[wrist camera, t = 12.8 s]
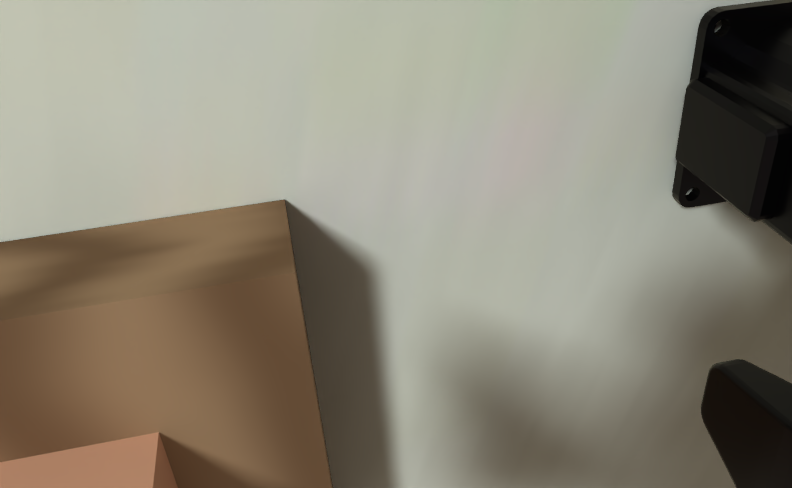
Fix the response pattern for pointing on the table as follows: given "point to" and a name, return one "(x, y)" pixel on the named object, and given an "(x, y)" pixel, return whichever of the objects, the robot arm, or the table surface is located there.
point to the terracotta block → (95, 466)
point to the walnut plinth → (165, 347)
